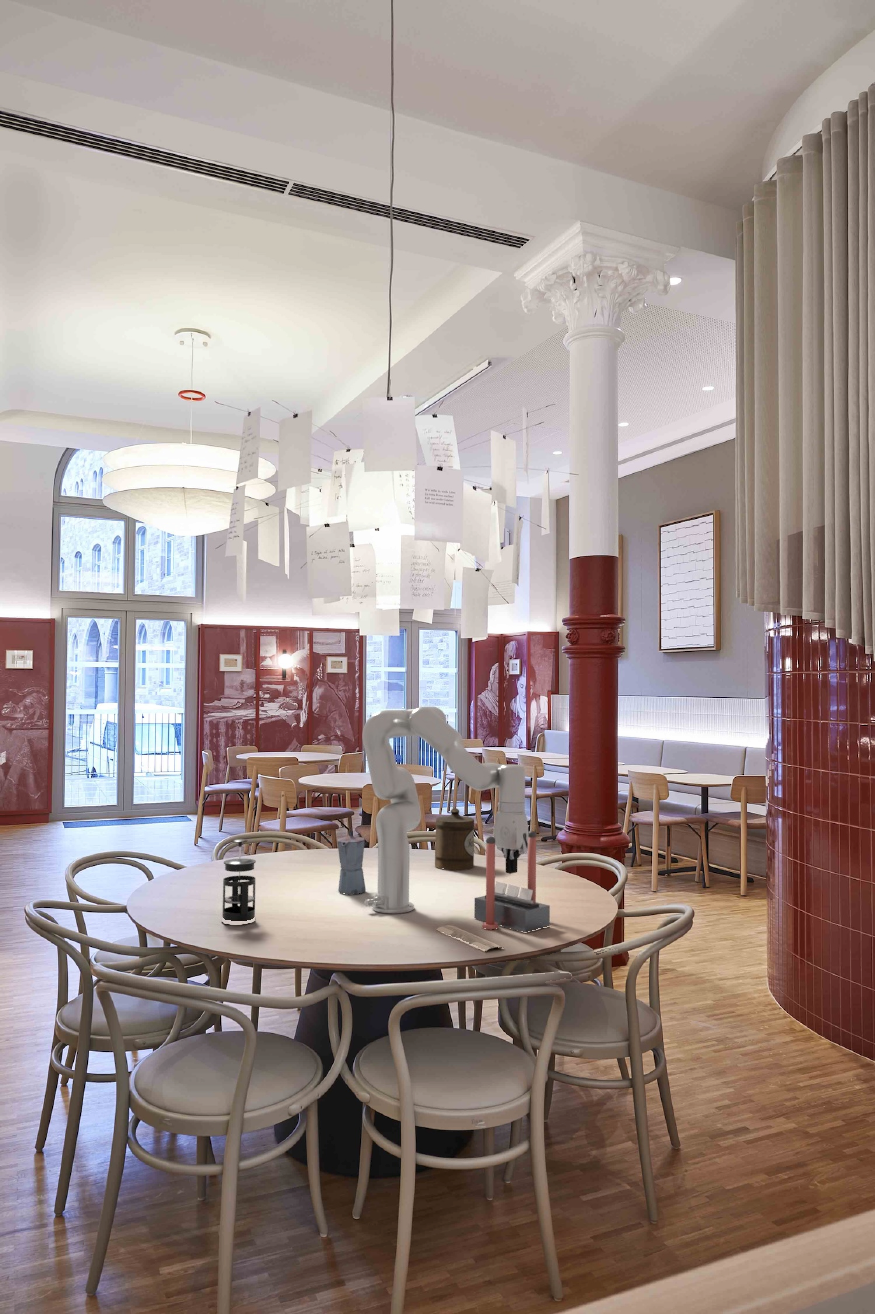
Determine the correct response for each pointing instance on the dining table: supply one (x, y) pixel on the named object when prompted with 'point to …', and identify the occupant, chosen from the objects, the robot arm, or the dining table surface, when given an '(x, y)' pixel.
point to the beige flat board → (467, 937)
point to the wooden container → (454, 842)
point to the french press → (242, 898)
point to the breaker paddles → (513, 892)
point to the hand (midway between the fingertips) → (511, 872)
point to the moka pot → (351, 864)
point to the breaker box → (515, 913)
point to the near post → (490, 885)
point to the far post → (532, 863)
